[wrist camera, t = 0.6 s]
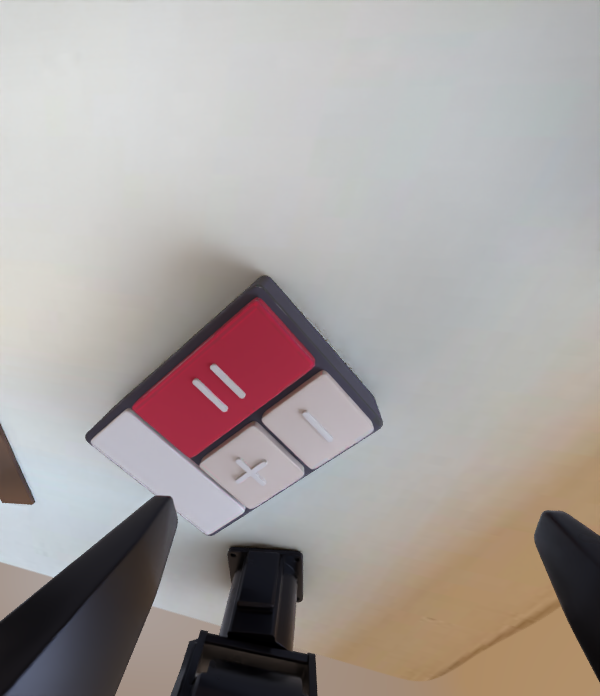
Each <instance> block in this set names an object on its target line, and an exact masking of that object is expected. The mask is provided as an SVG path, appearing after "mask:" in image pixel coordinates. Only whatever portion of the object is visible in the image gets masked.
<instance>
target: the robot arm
mask: <svg viewBox="0 0 600 696" xmlns="http://www.w3.org/2000/svg"><path fill="white" fill-rule="evenodd" d="M177 523H178V519H177V514H176V510H175V505H174V501H173V498H172V497H171V496H163V495H157V496H154V497H153V498H151V499H150V500H149V501H147V502H146V503H145V504H144V505H143V506H141V507H140V508H139V509H138V510H136V511H135V512H134V513H133V514H132V515H130V516H129V517H128V518H127V519H125V520H124V521H123V522H122V523H120V524H119V525H118V526H117V527H116V528H114V529H113V530H112V531H111V532H109V533H108V534H107V535H106V536H104V537H103V538H102V539H101V540H100V541H98V542H97V543H96V544H95V545H93V546H92V547H91V548H90V549H89V550H87V551H86V552H85V553H84V554H82V555H81V556H80V557H79V558H77V559H76V560H75V561H74V562H73V563H71V564H70V565H69V566H68V567H66V568H65V569H64V570H63V571H61V572H60V573H59V574H58V575H57V576H55V577H54V578H53V579H52V580H50V581H49V582H48V583H47V584H46V585H44V586H43V587H42V588H41V589H39V590H38V591H37V592H36V593H34V594H33V595H32V596H31V597H30V598H28V599H27V600H26V601H25V602H24V603H22V604H21V605H20V606H19V607H17V608H16V609H15V610H14V611H12V612H11V613H10V614H9V615H7V616H6V617H5V618H4V619H3V620H1V621H0V696H115V694H116V691H117V689H118V686H119V684H120V682H121V679H122V677H123V674H124V672H125V669H126V667H127V665H128V662H129V659H130V657H131V655H132V652H133V650H134V648H135V645H136V643H137V640H138V638H139V635H140V633H141V631H142V628H143V626H144V623H145V621H146V618H147V616H148V614H149V611H150V609H151V606H152V604H153V601H154V599H155V596H156V593H157V590H158V587H159V584H160V581H161V578H162V574H163V571H164V568H165V565H166V561H167V558H168V555H169V552H170V548H171V545H172V542H173V539H174V535H175V532H176V529H177ZM534 540H535V544H536V547H537V550H538V552H539V554H540V557H541V559H542V561H543V564H544V566H545V569H546V571H547V573H548V576H549V578H550V581H551V583H552V585H553V588H554V590H555V592H556V595H557V597H558V600H559V602H560V604H561V607H562V609H563V611H564V613H565V616H566V618H567V620H568V622H569V624H570V626H571V628H572V630H573V632H574V634H575V636H576V638H577V640H578V642H579V644H580V646H581V648H582V649H583V651H584V653H585V655H586V657H587V659H588V661H589V663H590V665H591V667H592V669H593V671H594V672H595V674H596V676H597V678H598V680H599V682H600V536H599V535H598V534H596V533H595V532H593V531H592V530H591V529H589V528H588V527H586V526H585V525H583V524H582V523H580V522H579V521H578V520H576V519H575V518H573V517H572V516H570V515H569V514H567V513H565V512H563V511H550V510H546V511H544V512H543V513H542V514H541V517H540V520H539V522H538V525H537V528H536V531H535V534H534ZM228 561H229V568H230V576H231V583H232V585H231V589H230V593H229V597H228V601H227V605H226V609H225V613H224V617H223V621H222V625H221V629H220V633H219V635H215V634H210V633H208V631H204V630H201V631H200V634H199V638H198V639H196V640H193V641H190V642H189V644H188V648H187V651H186V654H185V657H184V660H183V663H182V666H181V669H180V672H179V675H178V677H177V680H176V683H175V685H174V688H173V691H172V693H171V696H317V681H316V661H315V654H312V653H307V654H304V653H299V652H295V651H293V640H294V627H295V613H296V602H301V601H302V599H303V555H302V553H301V552H298V551H286V550H271V549H257V548H242V547H231V548H230V549H229V551H228Z"/></svg>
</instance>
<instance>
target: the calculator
mask: <svg viewBox="0 0 600 696" xmlns="http://www.w3.org/2000/svg"><path fill="white" fill-rule="evenodd" d="M382 425H383V421H382V418H381V415H380V412H379V409H378V406H377V404H376V401H375V398H374V396H373V395H372V394H371V393H370V391H369V390H368V389H367V388H366V387H365V386H364V385H363V383H362V382H361V381H360V380H359V379H358V378H357V376H356V375H355V374H354V373H353V372H352V371H351V370H350V368H349V367H348V366H347V365H346V364H345V363H344V362H343V360H342V359H341V358H340V357H339V356H338V355H337V353H336V352H335V351H334V350H333V349H332V348H331V347H330V345H329V344H328V343H327V342H326V341H325V340H324V338H323V337H322V336H321V335H320V334H319V333H318V332H317V330H316V329H315V328H314V327H313V326H312V325H311V324H310V322H309V321H308V320H307V319H306V318H305V317H304V315H303V314H302V313H301V312H300V311H299V310H298V309H297V307H296V306H295V305H294V304H293V303H292V302H291V300H290V299H289V298H288V297H287V296H286V295H285V294H284V292H283V291H282V290H281V289H280V288H279V287H278V286H277V284H276V283H275V282H274V281H273V280H272V279H271V278H270V277H268V276H262V277H260V278H259V279H258V280H256V281H255V282H254V283H253V284H252V285H251V286H250V287H249V288H247V289H246V290H245V291H244V292H243V293H242V294H241V295H240V296H238V297H237V298H236V299H235V300H234V301H233V302H232V303H231V304H229V305H228V306H227V307H226V308H225V309H224V310H223V311H222V312H220V313H219V314H218V315H217V316H216V317H215V318H214V319H213V320H211V321H210V322H209V323H208V324H207V325H206V326H205V327H204V328H202V329H201V330H200V331H199V332H198V333H197V334H196V335H195V336H193V337H192V338H191V339H190V340H189V341H188V342H187V343H186V344H184V345H183V346H182V347H181V348H180V349H179V350H178V351H177V352H175V353H174V354H173V355H172V356H171V357H170V358H169V359H168V360H166V361H165V362H164V363H163V364H162V365H161V366H160V367H159V368H157V369H156V370H155V371H154V372H153V373H152V374H151V375H150V376H148V377H147V378H146V379H145V380H144V381H142V382H141V383H140V384H139V385H138V386H137V387H136V388H135V389H133V390H132V391H131V392H130V393H129V394H128V395H127V396H126V397H124V398H123V399H122V400H121V401H120V402H119V403H118V404H117V405H116V406H114V407H113V408H112V409H111V410H110V411H109V412H108V413H107V414H106V415H105V416H104V417H103V418H102V419H101V420H100V421H99V422H98V423H97V424H96V425H95V426H94V427H93V428H92V429H90V430H89V431H88V432H87V434H86V436H85V438H86V441H87V442H88V443H90V444H91V445H92V446H93V447H95V448H96V449H97V450H98V451H100V452H101V453H102V454H103V455H105V456H106V457H107V458H109V459H110V460H111V461H112V462H114V463H115V464H116V465H117V466H119V467H120V468H121V469H123V470H124V471H125V472H126V473H128V474H129V475H130V476H132V477H133V478H134V479H135V480H137V481H138V482H139V483H140V484H142V485H143V486H144V487H146V488H147V489H148V490H149V491H151V492H152V493H153V494H154V495H156V496H157V495H163V496H171V497H172V498H173V501H174V505H175V510H176V512H177V513H179V514H180V515H181V516H182V517H184V518H185V519H186V520H188V521H189V522H190V523H191V524H193V525H194V526H195V527H197V528H198V529H199V530H200V531H202V532H203V533H204V534H206V535H208V536H212V535H214V534H216V533H218V532H219V531H221V530H222V529H224V528H225V527H227V526H229V525H230V524H232V523H233V522H235V521H236V520H238V519H239V518H241V517H243V516H244V515H246V514H247V513H249V512H250V511H252V510H254V509H255V508H257V507H258V506H260V505H261V504H263V503H265V502H266V501H268V500H269V499H271V498H272V497H274V496H275V495H277V494H279V493H280V492H282V491H283V490H285V489H286V488H288V487H290V486H291V485H293V484H294V483H296V482H297V481H299V480H300V479H302V478H304V477H305V476H307V475H308V474H310V473H311V472H313V471H315V470H316V469H318V468H319V467H321V466H322V465H324V464H326V463H327V462H329V461H330V460H332V459H333V458H335V457H336V456H338V455H340V454H341V453H343V452H344V451H346V450H347V449H349V448H351V447H352V446H354V445H355V444H357V443H358V442H360V441H361V440H363V439H365V438H366V437H368V436H369V435H371V434H372V433H374V432H376V431H377V430H379V429H380V428H381V427H382Z"/></svg>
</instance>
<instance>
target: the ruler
mask: <svg viewBox="0 0 600 696" xmlns="http://www.w3.org/2000/svg"><path fill="white" fill-rule="evenodd" d="M0 499H1V501H2V503H14V504H30V505H33V504H34V503H35V501H34V499H33V497H32V495H31V492H30V490H29V488H28V486H27V483H26V481H25V479H24V477H23V475H22V472H21V470H20V468H19V466H18V463H17V461H16V459H15V457H14V454H13V452H12V450H11V448H10V446H9V443H8V441H7V439H6V437H5V434H4V432H3V430H2V428H1V426H0Z"/></svg>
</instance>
